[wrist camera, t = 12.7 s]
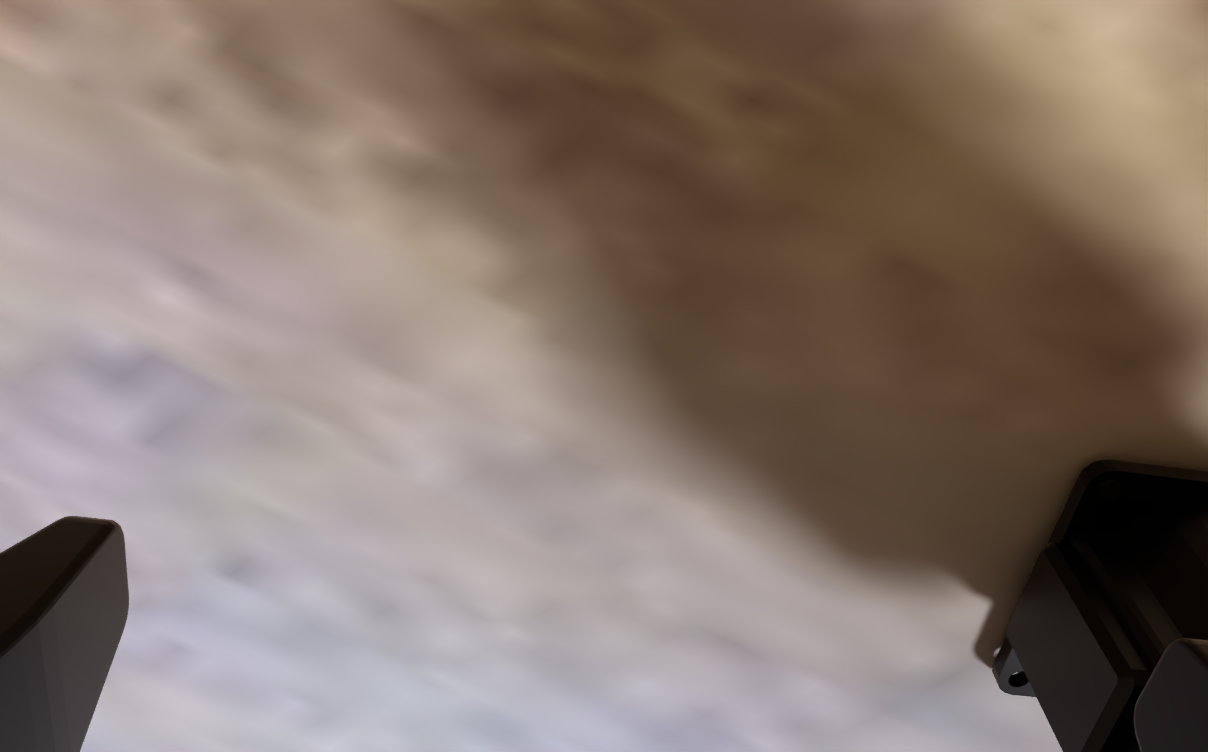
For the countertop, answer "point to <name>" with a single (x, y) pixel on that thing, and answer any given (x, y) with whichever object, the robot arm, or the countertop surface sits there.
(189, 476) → the countertop surface
